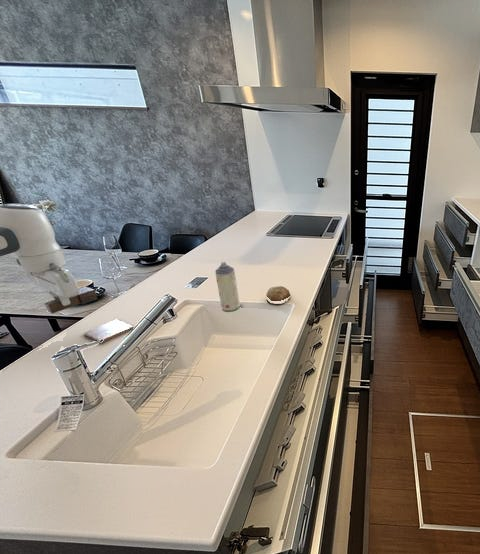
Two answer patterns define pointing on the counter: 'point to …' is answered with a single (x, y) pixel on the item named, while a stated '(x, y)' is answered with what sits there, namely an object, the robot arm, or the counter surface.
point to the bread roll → (278, 293)
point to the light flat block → (108, 330)
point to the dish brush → (72, 300)
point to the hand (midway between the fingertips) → (62, 303)
